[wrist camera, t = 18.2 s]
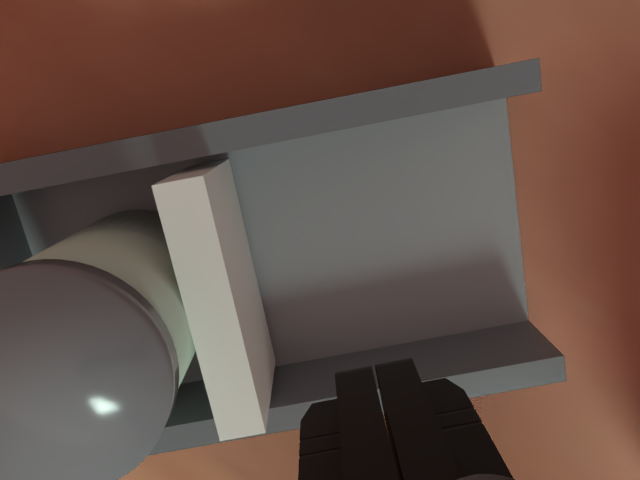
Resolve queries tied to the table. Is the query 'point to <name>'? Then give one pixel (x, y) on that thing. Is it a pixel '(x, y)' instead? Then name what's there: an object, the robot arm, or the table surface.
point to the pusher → (219, 294)
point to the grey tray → (337, 235)
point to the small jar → (90, 352)
